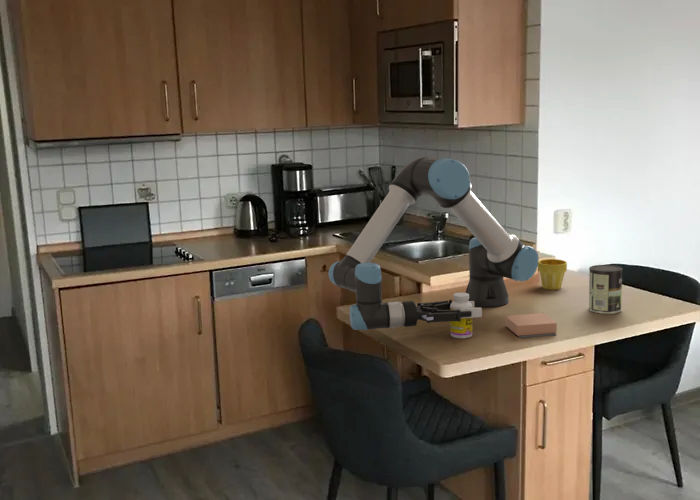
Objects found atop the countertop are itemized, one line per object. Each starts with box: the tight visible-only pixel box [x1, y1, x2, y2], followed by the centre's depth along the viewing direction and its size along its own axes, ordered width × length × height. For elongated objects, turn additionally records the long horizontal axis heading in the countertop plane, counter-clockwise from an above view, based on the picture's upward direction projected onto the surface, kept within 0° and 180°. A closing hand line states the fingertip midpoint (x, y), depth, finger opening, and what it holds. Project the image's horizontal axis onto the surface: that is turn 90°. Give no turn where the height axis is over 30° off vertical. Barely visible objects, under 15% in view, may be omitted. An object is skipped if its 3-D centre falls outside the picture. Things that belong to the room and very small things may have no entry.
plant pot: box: [537, 258, 568, 291], centre depth 279 cm, size 10×10×10 cm
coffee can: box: [588, 264, 624, 315], centre depth 247 cm, size 10×10×14 cm
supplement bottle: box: [449, 292, 474, 339], centre depth 226 cm, size 7×7×13 cm
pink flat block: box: [504, 312, 558, 337], centre depth 230 cm, size 3×11×12 cm
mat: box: [518, 332, 557, 339], centre depth 230 cm, size 11×13×1 cm
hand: (477, 308), depth 227 cm, fingers open, 7 cm apart
